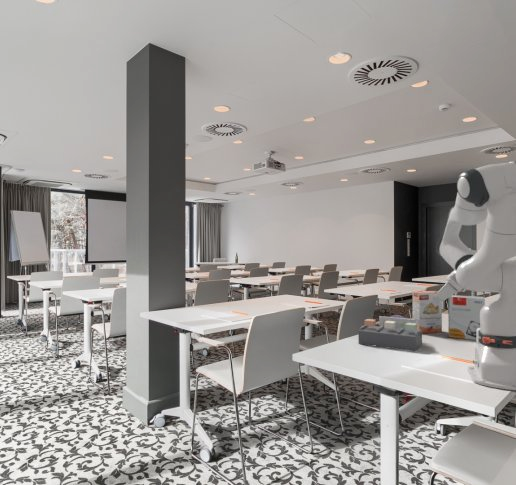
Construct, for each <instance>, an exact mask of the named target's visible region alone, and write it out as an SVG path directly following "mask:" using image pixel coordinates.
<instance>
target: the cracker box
mask: <svg viewBox="0 0 516 485" xmlns="http://www.w3.org/2000/svg"><path fill="white" fill-rule="evenodd" d="M438 291H439V290H428V291H427V290H425V291H424V290H423V291H412V319H414V323H417V331H418V330H419V329H421V331H422V334H431V333H432V334H433V333H442V332H443V301H442V302H441V301H439V302H438V303H437V304H435V305H433V304H432V301H433V300H434V299H435V298H436V296H435V295H436V294H437V292H438Z"/></svg>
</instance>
